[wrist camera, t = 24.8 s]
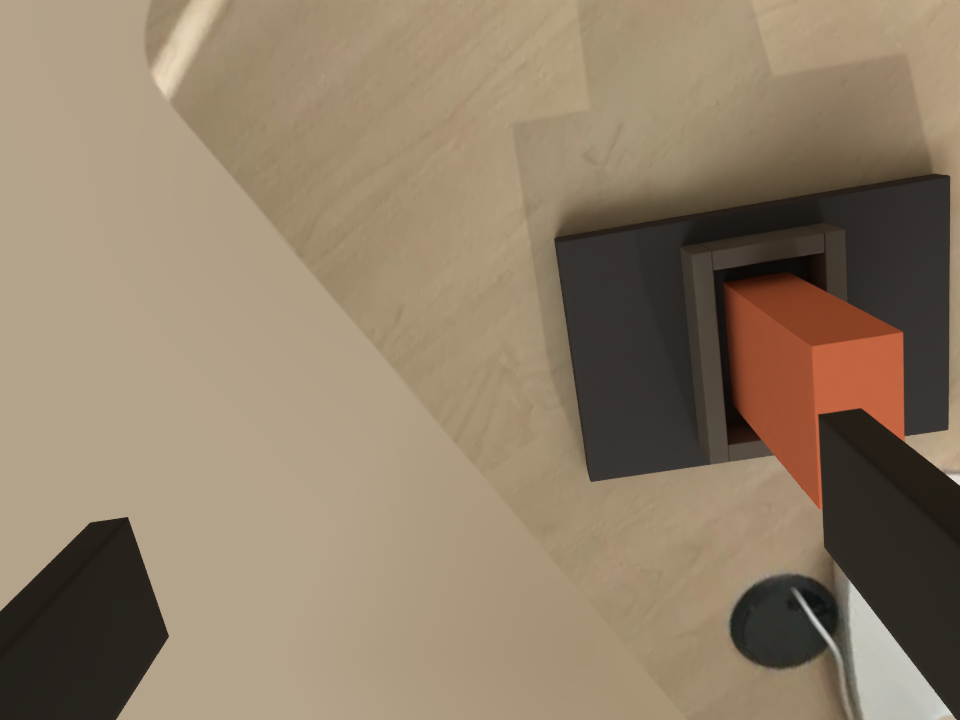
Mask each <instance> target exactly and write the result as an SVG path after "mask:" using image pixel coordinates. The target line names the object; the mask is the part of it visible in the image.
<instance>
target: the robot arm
mask: <svg viewBox="0 0 960 720" xmlns="http://www.w3.org/2000/svg"><path fill="white" fill-rule="evenodd" d="M818 422H819V443H820V465H821V486H822V508H823V529H824V547H825V549H826V550H827V551H828V553H829V554H830V555H831V556H832V558H833V559H834V560H835V562H836V563H837V564H838V566H839V567H840V568H841V569H842V571H843V572H844V573H845V575H846V576H847V577H848V579H849V580H850V581H851V583H852V584H853V585H854V586H855V588H856V589H857V590H858V592H859V593H860V594H861V596H862V597H863V598H864V599H865V601H866V602H867V603H868V605H869V606H870V607H871V609H872V610H873V611H874V613H875V614H876V615H877V616H878V618H879V619H880V620H881V622H882V623H883V624H884V626H885V627H886V628H887V629H888V631H889V632H890V633H891V635H892V636H893V637H894V639H895V640H896V641H897V643H898V644H899V645H900V646H901V648H902V649H903V650H904V652H905V653H906V654H907V656H908V657H909V658H910V659H911V661H912V662H913V663H914V665H915V666H916V667H917V669H918V670H919V671H920V673H921V674H922V675H923V676H924V678H925V679H926V680H927V682H928V683H929V684H930V686H931V687H932V688H933V689H934V691H935V692H936V693H937V695H938V696H939V697H940V699H941V700H942V701H943V703H944V704H945V705H946V706H947V708H948V709H949V710H950V712H951V713H952V714H953V716H954V717H955V718H956V719H957V720H960V485H958V484H957V483H956V482H954V481H953V480H952V479H951V478H949V477H948V476H947V475H946V474H944V473H943V472H942V471H941V470H939V469H938V468H937V467H935V466H934V465H933V464H932V463H930V462H929V461H928V460H927V459H925V458H924V457H923V456H921V455H920V454H919V453H918V452H916V451H915V450H914V449H913V448H911V447H910V446H909V445H908V444H906V443H905V442H904V441H902V440H901V439H900V438H899V437H897V436H896V435H895V434H894V433H892V432H891V431H890V430H889V429H887V428H886V427H885V426H883V425H882V424H881V423H880V422H878V421H877V420H876V419H875V418H873V417H872V416H871V415H870V414H868V413H867V412H866V411H864V410H863V409H862V408H858V409H851V410H845V411H838V412H831V413H824V414H818ZM168 637H169V635H168V632H167V630H166V627H165V624H164V621H163V618H162V615H161V612H160V609H159V607H158V603H157V600H156V597H155V594H154V592H153V589H152V586H151V583H150V580H149V577H148V574H147V571H146V569H145V565H144V563H143V560H142V557H141V554H140V551H139V548H138V545H137V542H136V539H135V536H134V533H133V530H132V527H131V525H130V522H129V519H128V517H125V518H119V519H112V520H105V521H98V522H92V523H90V524H88V526H86V527H85V529H83V530H82V531H81V532H80V533H79V534H78V535H77V536H76V537H75V538H74V540H72V541H71V542H70V543H69V544H68V545H67V546H66V547H65V548H64V549H63V550H62V551H61V552H60V553H59V554H58V555H57V556H56V557H55V558H54V559H53V560H52V561H51V562H50V563H49V564H48V565H47V566H46V567H45V568H44V569H43V570H42V571H41V572H40V573H39V574H38V575H37V576H36V577H35V578H34V579H33V580H32V581H31V582H30V583H29V584H28V585H27V586H26V587H25V588H24V589H23V590H22V591H21V592H20V593H19V594H18V595H17V596H15V597H14V598H13V599H12V600H11V601H10V602H9V603H8V604H7V605H6V606H5V607H4V608H3V609H2V610H1V611H0V720H116V719H117V717H118V716H119V714H120V713H121V711H122V709H123V708H124V706H125V705H126V703H127V701H128V700H129V698H130V697H131V695H132V694H133V692H134V691H135V689H136V687H137V686H138V684H139V683H140V681H141V680H142V678H143V676H144V675H145V673H146V672H147V670H148V669H149V667H150V665H151V664H152V662H153V661H154V659H155V658H156V656H157V654H158V653H159V651H160V650H161V648H162V647H163V645H164V644H165V642H166V640H167V639H168Z"/></svg>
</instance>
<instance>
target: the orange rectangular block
mask: <svg viewBox="0 0 960 720" xmlns="http://www.w3.org/2000/svg"><path fill="white" fill-rule="evenodd" d="M723 290H724V302H725V315H726V327H727V339H728V352H729V364H730V376H731V389H732V401H733V406H734V407H735V408H736V409H737V410H738V412H739V413H740V414H741V415H742V416H743V418H744V419H745V420H746V421H747V422H748V424H749V425H750V426H751V427H752V428H753V430H754V431H755V432H756V433H757V435H758V436H759V437H760V438H761V439H762V441H763V442H764V443H765V444H766V445H767V447H768V448H769V449H770V450H771V451H772V453H773V454H774V455H775V456H776V457H777V459H778V460H779V461H780V462H781V463H782V465H783V466H784V467H785V468H786V469H787V471H788V472H789V473H790V474H791V476H792V477H793V478H794V479H795V480H796V482H797V483H798V484H799V485H800V486H801V488H802V489H803V490H804V491H805V492H806V494H807V495H808V496H809V497H810V498H811V500H812V501H813V502H814V503H815V504H816V506H817V507H818V508H819V509H823V508H822V486H821V465H820V443H819V422H818V414H824V413H831V412H838V411H845V410H851V409H858V408H862V409H863V410H864V411H866V412H867V413H868V414H870V415H871V416H872V417H873V418H875V419H876V420H877V421H878V422H880V423H881V424H882V425H883V426H885V427H886V428H887V429H889V430H890V431H891V432H892V433H894V434H895V435H896V436H897V437H899V438H900V439H901V440H902V441H904V363H903V332H902V331H901V330H899V329H897V328H895V327H893V326H891V325H889V324H887V323H885V322H883V321H881V320H879V319H877V318H876V317H874V316H872V315H870V314H868V313H866V312H864V311H862V310H860V309H858V308H856V307H854V306H852V305H851V304H849V303H847V302H845V301H843V300H841V299H839V298H837V297H835V296H833V295H831V294H829V293H827V292H826V291H824V290H822V289H820V288H818V287H816V286H814V285H812V284H810V283H808V282H806V281H804V280H802V279H801V278H799V277H797V276H795V275H793V274H791V273H789V272H783V273H777V274H771V275H765V276H759V277H753V278H747V279H740V280H734V281H728V282H723Z"/></svg>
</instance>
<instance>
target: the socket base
mask: <svg viewBox="0 0 960 720" xmlns="http://www.w3.org/2000/svg"><path fill="white" fill-rule="evenodd" d="M554 241H555V248H556V255H557V262H558V269H559V276H560V283H561V290H562V296H563V303H564V310H565V317H566V324H567V331H568V338H569V345H570V352H571V359H572V366H573V373H574V380H575V387H576V394H577V401H578V407H579V414H580V421H581V428H582V435H583V442H584V449H585V456H586V463H587V470H588V474H589V478H590V481H591V482H594V481H601V480H607V479H614V478H621V477H628V476H635V475H642V474H649V473H656V472H662V471H669V470H676V469H683V468H690V467H697V466H704V465H710V464H717V463H724V462H731V461H738V460H745V459H752V458H759V457H765V456H772V455H774V454H773V453H772V451H771V450H770V449H769V448H768V447H767V445H766V444H765V443H764V442H763V441H762V439H761V438H760V437H759V436H758V435H757V433H756V432H755V431H754V430H753V428H752V427H751V426H750V425H749V424H748V422H747V421H746V420H745V419H744V418H743V416H742V415H741V414H740V413H739V412H738V410H737V409H736V408H735V407H734V406H733V401H732V389H731V376H730V364H729V352H728V339H727V327H726V315H725V302H724V290H723V282H728V281H734V280H740V279H747V278H753V277H759V276H765V275H771V274H777V273H783V272H789V273H791V274H793V275H795V276H797V277H799V278H801V279H802V280H804V281H806V282H808V283H810V284H812V285H814V286H816V287H818V288H820V289H822V290H824V291H826V292H827V293H829V294H831V295H833V296H835V297H837V298H839V299H841V300H843V301H845V302H847V303H849V304H851V305H852V306H854V307H856V308H858V309H860V310H862V311H864V312H866V313H868V314H870V315H872V316H874V317H876V318H877V319H879V320H881V321H883V322H885V323H887V324H889V325H891V326H893V327H895V328H897V329H899V330H901V331H902V332H903V363H904V436H910V435H917V434H923V433H930V432H937V431H944V430H948V414H949V264H950V176H948V175H940V174H930V175H924V176H918V177H912V178H906V179H900V180H894V181H888V182H882V183H876V184H871V185H865V186H859V187H853V188H847V189H841V190H835V191H829V192H823V193H817V194H811V195H805V196H800V197H794V198H788V199H782V200H776V201H770V202H764V203H758V204H752V205H746V206H740V207H734V208H728V209H723V210H717V211H711V212H705V213H699V214H693V215H687V216H681V217H675V218H669V219H663V220H657V221H651V222H646V223H640V224H634V225H628V226H622V227H616V228H610V229H604V230H598V231H592V232H586V233H580V234H575V235H569V236H563V237H557V238H555V239H554Z"/></svg>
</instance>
